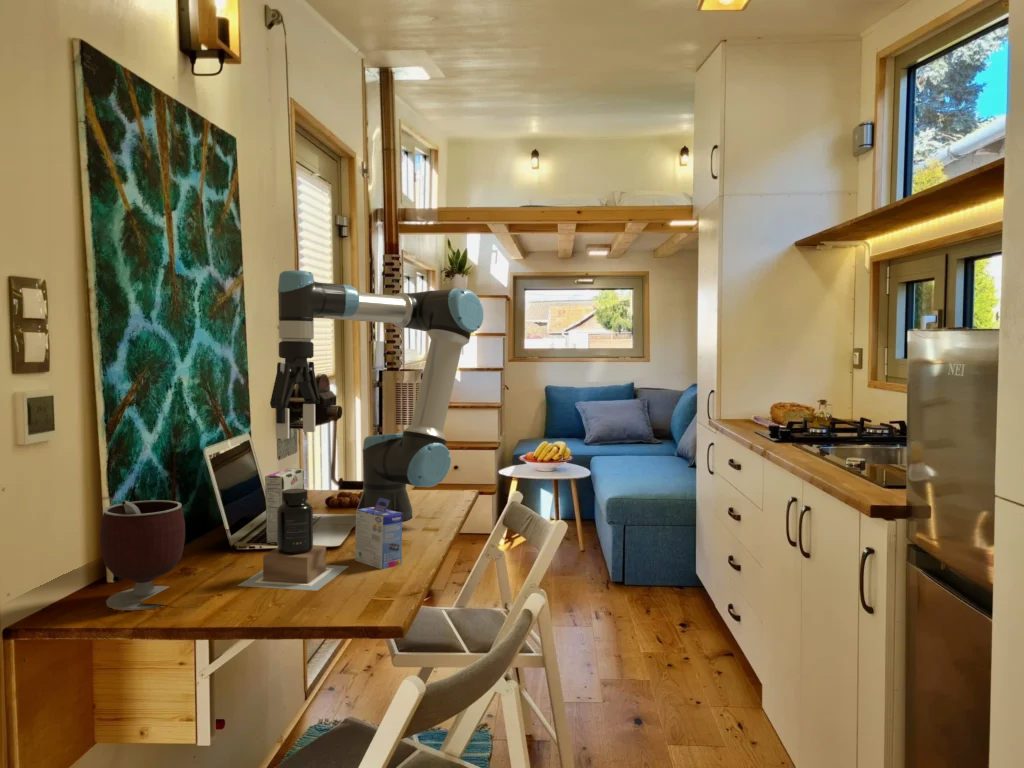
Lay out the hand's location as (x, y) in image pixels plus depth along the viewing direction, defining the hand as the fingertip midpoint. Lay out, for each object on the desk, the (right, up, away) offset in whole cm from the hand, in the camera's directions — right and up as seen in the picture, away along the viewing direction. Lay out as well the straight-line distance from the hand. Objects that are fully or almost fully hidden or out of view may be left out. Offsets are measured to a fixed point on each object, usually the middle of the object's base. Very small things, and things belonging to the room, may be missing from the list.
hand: (296, 435), depth 168 cm
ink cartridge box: (+20, -28, -10) cm, 36 cm away
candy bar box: (-6, -26, +13) cm, 30 cm away
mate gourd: (-19, -28, -32) cm, 47 cm away
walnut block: (+6, -27, -20) cm, 34 cm away
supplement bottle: (+6, -22, -20) cm, 30 cm away
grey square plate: (+6, -28, -20) cm, 35 cm away
